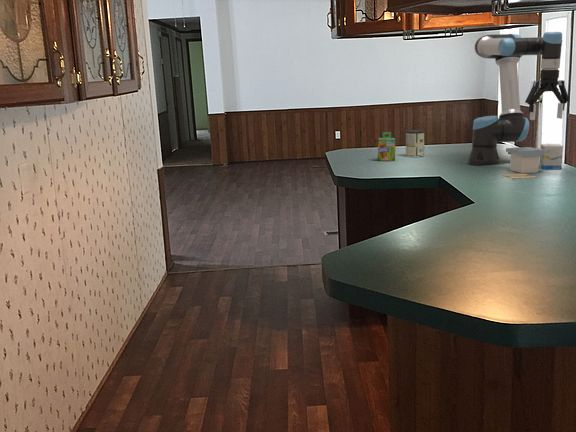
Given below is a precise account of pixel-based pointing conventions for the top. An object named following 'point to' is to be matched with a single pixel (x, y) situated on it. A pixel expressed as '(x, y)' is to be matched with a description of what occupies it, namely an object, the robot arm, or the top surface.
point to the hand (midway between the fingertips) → (545, 119)
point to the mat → (519, 176)
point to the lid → (526, 151)
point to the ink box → (551, 157)
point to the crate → (524, 163)
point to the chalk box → (386, 147)
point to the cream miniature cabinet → (415, 143)
